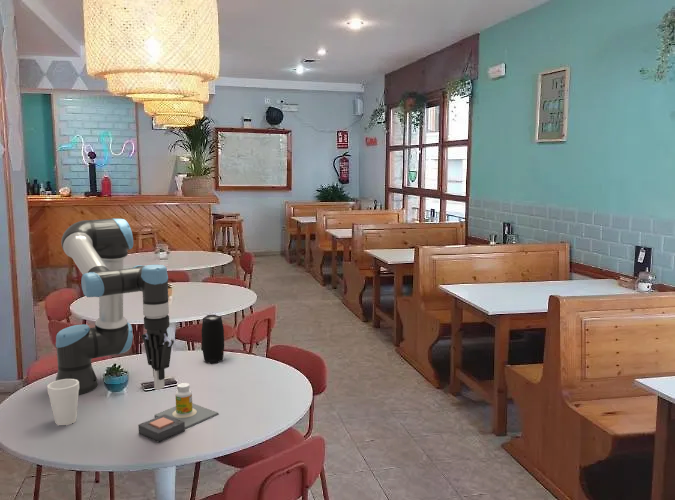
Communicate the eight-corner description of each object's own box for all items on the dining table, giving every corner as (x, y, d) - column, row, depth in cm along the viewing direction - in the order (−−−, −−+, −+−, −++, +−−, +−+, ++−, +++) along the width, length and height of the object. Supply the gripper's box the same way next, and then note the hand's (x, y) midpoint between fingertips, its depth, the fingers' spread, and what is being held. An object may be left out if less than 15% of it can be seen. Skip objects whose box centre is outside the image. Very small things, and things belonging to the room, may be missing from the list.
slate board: (154, 416, 203) (154, 414, 203) (187, 403, 214) (187, 401, 214) (185, 429, 194) (185, 426, 193) (218, 414, 205) (218, 412, 205)
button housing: (138, 433, 190) (138, 424, 190) (165, 422, 198) (164, 414, 198) (158, 442, 184) (158, 433, 184) (184, 430, 192) (184, 422, 192)
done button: (149, 428, 191) (149, 422, 190) (163, 423, 195) (163, 417, 194) (160, 433, 187) (159, 427, 187) (173, 427, 192) (173, 421, 191)
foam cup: (69, 429, 194) (66, 390, 192) (43, 426, 196) (41, 388, 194) (87, 416, 203) (84, 379, 201) (62, 414, 205) (60, 377, 203)
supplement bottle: (173, 415, 202) (172, 387, 201) (179, 408, 208) (178, 381, 206) (189, 416, 202) (188, 388, 200) (194, 409, 207) (193, 382, 205)
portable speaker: (228, 360, 259) (227, 316, 256) (210, 366, 252) (209, 320, 249) (216, 356, 265) (215, 312, 262) (198, 361, 258) (196, 317, 255)
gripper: (179, 316, 185) (182, 389, 188) (153, 309, 192) (156, 379, 196) (159, 321, 179) (162, 397, 183) (133, 314, 186) (136, 386, 190)
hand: (159, 388), depth 189 cm, fingers closed
